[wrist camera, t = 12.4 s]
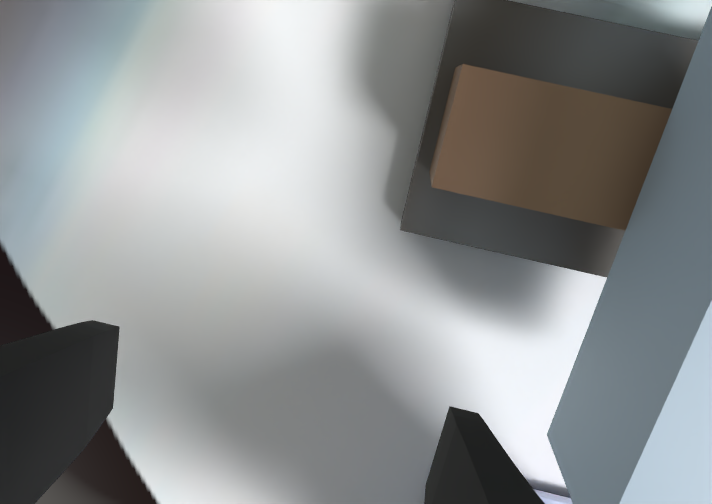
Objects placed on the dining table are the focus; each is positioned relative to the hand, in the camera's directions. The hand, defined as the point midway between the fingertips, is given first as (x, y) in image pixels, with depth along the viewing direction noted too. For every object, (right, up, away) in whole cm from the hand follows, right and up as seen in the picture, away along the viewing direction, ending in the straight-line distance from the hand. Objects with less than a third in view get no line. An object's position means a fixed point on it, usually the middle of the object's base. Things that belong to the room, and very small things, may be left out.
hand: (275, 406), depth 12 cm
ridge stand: (+12, +6, +8) cm, 16 cm away
